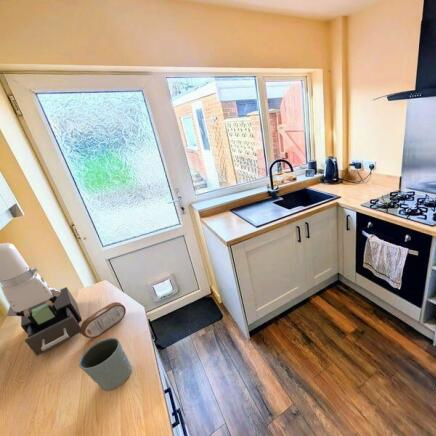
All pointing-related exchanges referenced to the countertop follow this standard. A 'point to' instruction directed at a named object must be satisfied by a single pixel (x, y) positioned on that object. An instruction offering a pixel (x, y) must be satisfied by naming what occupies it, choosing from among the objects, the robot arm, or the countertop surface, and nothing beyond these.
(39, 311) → the cube
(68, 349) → the countertop surface
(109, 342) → the grey green cup
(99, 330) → the tin
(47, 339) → the dark grey sliding drawer
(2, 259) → the robot arm
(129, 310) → the countertop surface
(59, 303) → the small drawer box
